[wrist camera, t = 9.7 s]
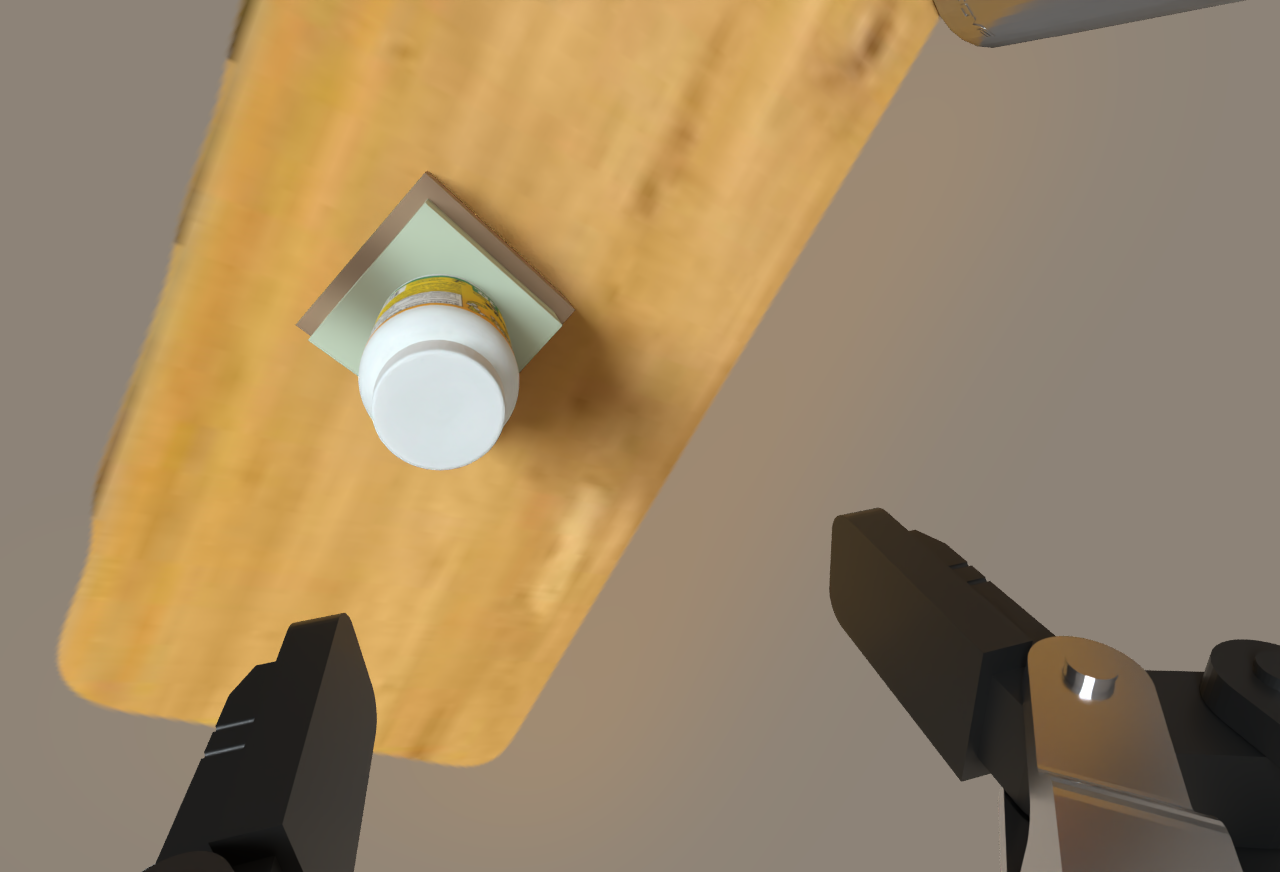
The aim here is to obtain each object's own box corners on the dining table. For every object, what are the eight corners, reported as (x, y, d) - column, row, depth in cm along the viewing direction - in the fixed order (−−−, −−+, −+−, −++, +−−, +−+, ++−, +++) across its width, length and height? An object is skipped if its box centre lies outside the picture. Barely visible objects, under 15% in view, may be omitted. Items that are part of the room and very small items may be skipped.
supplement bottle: (364, 280, 28) (323, 337, 19) (496, 265, 29) (514, 313, 20) (393, 402, 30) (369, 503, 21) (515, 384, 31) (538, 473, 22)
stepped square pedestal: (427, 171, 32) (422, 174, 27) (566, 298, 36) (585, 324, 31) (308, 311, 33) (280, 341, 28) (455, 419, 37) (455, 465, 32)
